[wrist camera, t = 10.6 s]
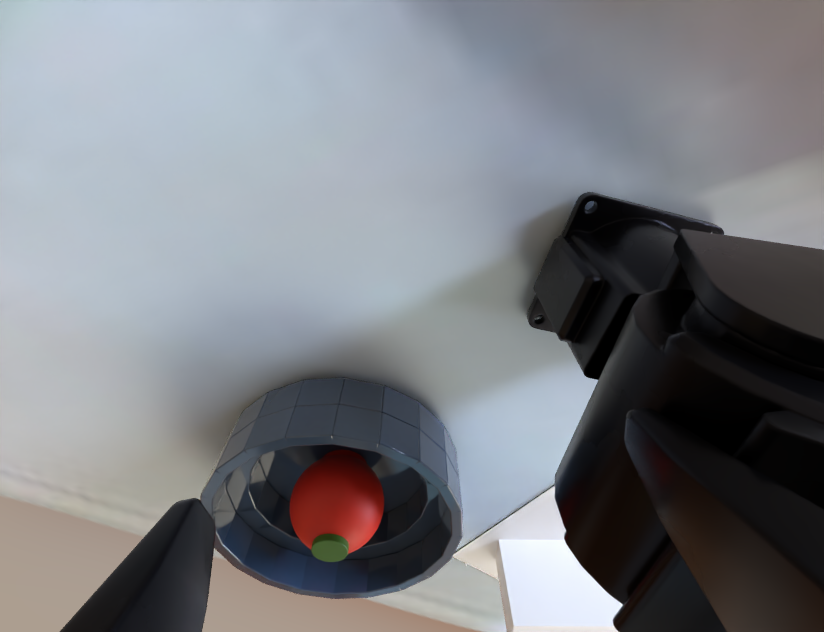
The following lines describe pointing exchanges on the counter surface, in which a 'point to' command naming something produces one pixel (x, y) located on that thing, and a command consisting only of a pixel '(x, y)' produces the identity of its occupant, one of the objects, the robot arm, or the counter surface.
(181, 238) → the counter surface
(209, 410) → the counter surface
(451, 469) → the bowl
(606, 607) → the napkin holder
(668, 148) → the counter surface
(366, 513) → the tomato
